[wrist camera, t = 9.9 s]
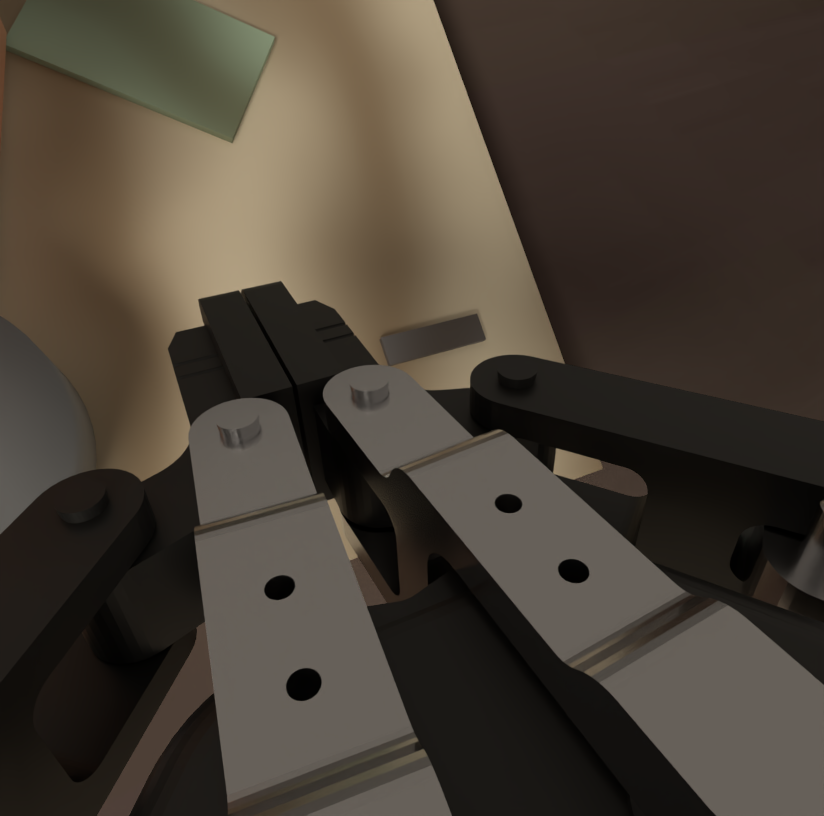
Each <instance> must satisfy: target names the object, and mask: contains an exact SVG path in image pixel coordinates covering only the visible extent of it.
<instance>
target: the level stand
mask: <svg viewBox="0 0 824 816" xmlns="http://www.w3.org/2000/svg"><path fill="white" fill-rule="evenodd" d="M0 18H1V21H2V23H3V25H4V28H5V30H6V32H7V37H6V56H5V75H4V94H3V112H2V131H1V150H0V316H1V317H3V318H4V319H6V320H8V321H9V322H10V323H12V324H13V325H14V326H16V327H17V328H18V329H19V330H21V331H22V332H23V333H24V334H26V335H27V336H28V337H29V338H30V339H31V341H32V342H33V343H34V344H35V345H36V346H37V347H38V348H39V349H40V350H41V351H42V352H43V353H44V354H45V355H46V356H47V357H48V358H49V359H50V360H51V361H52V362H53V364H54V365H55V366H56V367H57V368H58V369H59V370H60V371H61V372H62V373H63V374H64V375H65V376H66V377H67V378H68V380H69V381H70V382H71V384H72V385H73V386H74V388H75V389H76V391H77V392H78V393H79V395H80V397H81V399H82V401H83V403H84V405H85V407H86V409H87V411H88V414H89V417H90V420H91V423H92V426H93V431H94V436H95V441H96V457H97V461H96V469H109V468H110V469H120V470H124V471H127V472H130V473H132V474H134V475H135V476H137V477H138V478H139V479H140V481H141V482H142V481H144V480H145V479H147V478H149V477H151V476H153V475H155V474H157V473H159V472H160V471H162V470H164V469H165V468H167V467H168V466H170V465H171V464H172V463H174V462H175V461H176V460H177V459H178V458H179V457H180V456H181V455H182V454H183V452H184V451H185V450H186V448H187V447H188V445H189V440H188V433H189V430H190V423H189V420H188V416H187V413H186V410H185V406H184V403H183V399H182V396H181V393H180V389H179V386H178V382H177V379H176V375H175V372H174V369H173V365H172V362H171V358H170V355H169V352H168V347H169V345H170V343H171V341H172V339H173V337H174V335H175V333H176V332H178V331H183V330H187V329H192V328H196V327H200V326H204V323H203V319H202V316H201V312H200V307H199V302H198V299H200V298H205V297H210V296H214V295H219V294H223V293H228V292H233V291H237V290H239V291H240V293H241V290H242V289H246V288H251V287H255V286H260V285H264V284H269V283H274V282H278V281H281V282H282V283H283V284H284V286H285V287H286V288H287V290H288V291H289V293H290V294H291V296H292V297H293V298H294V300H295V301H296V303H297V304H300V303H304V302H308V301H313V300H316V301H318V302H321V303H323V304H325V305H327V306H329V307H332V308H334V309H335V310H336V311H337V312H338V314H339V315H340V316H341V317H342V319H343V320H344V321H345V324H346V325H348V326H349V328H350V329H351V330H352V331H353V333H354V336H355V335H356V336H357V338H358V339H359V340H360V341H361V343H362V344H363V345H364V346H365V348H366V349H367V350H368V352H369V353H370V354H371V355H372V357H373V358H374V359H375V360H376V362H377V363H378V364H379V365H385V366H390V367H395V368H397V369H400V370H402V371H404V372H406V373H407V374H409V375H410V376H411V377H412V378H413V379H414V380H415V381H416V382H417V383H418V384H419V385H420V386H421V387H422V388H423V389H424V390H447V389H460V388H470V376H471V372H472V371H473V369H474V368H475V367H476V366H477V365H478V364H480V363H481V362H483V361H485V360H487V359H489V358H493V357H496V356H501V355H526V356H532V357H536V358H541V359H545V360H550V361H554V362H559V363H563V364H565V363H564V360H563V357H562V354H561V352H560V349H559V346H558V343H557V341H556V338H555V335H554V332H553V330H552V327H551V324H550V321H549V318H548V316H547V313H546V310H545V307H544V305H543V302H542V299H541V296H540V294H539V291H538V288H537V285H536V283H535V280H534V277H533V274H532V271H531V269H530V266H529V263H528V260H527V258H526V255H525V252H524V249H523V247H522V244H521V241H520V238H519V236H518V233H517V230H516V227H515V225H514V222H513V219H512V216H511V213H510V211H509V208H508V205H507V202H506V200H505V197H504V194H503V191H502V189H501V186H500V183H499V180H498V178H497V175H496V172H495V169H494V166H493V164H492V161H491V158H490V155H489V153H488V150H487V147H486V144H485V142H484V139H483V136H482V133H481V131H480V128H479V125H478V122H477V120H476V117H475V114H474V111H473V108H472V106H471V103H470V100H469V97H468V95H467V92H466V89H465V86H464V84H463V81H462V78H461V75H460V73H459V70H458V67H457V64H456V61H455V59H454V56H453V53H452V50H451V48H450V45H449V42H448V39H447V37H446V34H445V31H444V28H443V26H442V23H441V20H440V17H439V14H438V12H437V9H436V6H435V3H434V1H433V0H0ZM601 469H603V468H602V465H601V462H600V460H597V459H594V458H590V457H586V456H583V455H579V454H575V453H572V452H568V451H565V450H561V449H557V448H556V454H555V463H554V471H553V474H556V475H559V476H563V477H566V478H569V479H576V478H579V477H582V476H584V475H587V474H590V473H593V472H596V471H598V470H601ZM327 502H328V504H329V507H330V510H331V512H332V515H333V518H334V520H335V523H336V526H337V528H338V531H339V534H340V536H341V539H342V542H343V544H344V547H345V550H346V553H347V555H348V558H349V560H352V559H354V558H357V557H358V556H357V555H356V553H355V551H354V550H353V548H352V547H351V545H350V543H349V542H348V540H347V539H346V537H345V535H344V533H343V529H342V523H341V516H340V510H339V506H338V504H337V502H336V500H335V499H331V500H328V501H327Z"/></svg>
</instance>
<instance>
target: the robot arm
mask: <svg viewBox="0 0 824 816" xmlns="http://www.w3.org/2000/svg"><path fill="white" fill-rule="evenodd" d="M198 302H199V307H200V312H201V316H202V319H203V323H204V326H200V327H196V328H192V329H187V330H183V331H178V332H176V333H175V335H174V337H173V339H172V341H171V343H170V345H169V347H168V352H169V355H170V358H171V362H172V365H173V369H174V372H175V375H176V379H177V382H178V386H179V389H180V393H181V396H182V399H183V403H184V406H185V410H186V413H187V416H188V420H189V423H190V430H189V433H188V440H189V445H188V447H187V448H186V450H185V451H184V452H183V454H182V455H181V456H180V457H179V458H178V459H177V460H176V461H175V462H174V463H172V464H171V465H170V466H168V467H167V468H165V469H164V470H162V471H160V472H159V473H157V474H155V475H153V476H151V477H149V478H147V479H145V480H144V481H142V482H141V481H140V479H139V478H138V477H137V476H135V475H134V474H132V473H130V472H127V471H124V470H120V469H110V468H109V469H96V470H90V471H86V472H82V473H79V474H76V475H73V476H70V477H68V478H66V479H64V480H62V481H60V482H58V483H56V484H55V485H53V486H51V487H50V488H48V489H47V490H46V491H44V492H43V493H42V494H41V495H39V496H38V497H37V498H36V499H35V500H34V501H33V502H32V503H31V504H30V505H29V506H28V507H27V508H26V509H25V510H24V511H23V512H22V513H21V514H20V515H19V516H18V517H17V518H16V519H15V520H14V521H13V522H12V523H11V524H10V525H9V526H8V527H7V528H6V529H5V530H4V531H3V532H2V533H1V534H0V816H97V814H98V813H99V811H100V809H101V807H102V806H103V804H104V802H105V800H106V799H107V797H108V795H109V793H110V792H111V790H112V788H113V786H114V785H115V783H116V781H117V779H118V778H119V776H120V774H121V773H122V771H123V769H124V767H125V766H126V764H127V762H128V760H129V759H130V757H131V755H132V753H133V752H134V750H135V748H136V746H137V745H138V743H139V741H140V739H141V738H142V736H143V734H144V732H145V731H146V729H147V727H148V726H149V724H150V722H151V720H152V719H153V717H154V715H155V713H156V712H157V710H158V708H159V706H160V705H161V703H162V701H163V699H164V698H165V696H166V694H167V692H168V691H169V689H170V687H171V686H172V684H173V682H174V680H175V679H176V677H177V675H178V673H179V672H180V670H181V668H182V666H183V665H184V663H185V661H186V659H187V658H188V656H189V654H190V652H191V650H192V648H193V646H194V644H195V640H196V634H197V629H196V627H198V626H199V625H200V624H202V623H203V622H205V624H206V632H207V640H208V648H209V656H210V664H211V672H212V680H213V688H214V694H212V695H211V696H210V697H209V698H208V699H207V700H206V701H205V702H204V703H203V704H202V705H201V706H200V707H199V708H198V709H197V710H196V711H195V712H194V713H193V714H192V715H191V716H190V717H189V718H188V719H187V721H186V722H185V723H184V724H183V726H182V727H181V728H180V729H179V731H178V732H177V733H176V734H175V735H174V737H173V738H172V740H171V741H170V743H169V744H168V746H167V747H166V749H165V750H164V752H163V753H162V755H161V756H160V758H159V759H158V761H157V763H156V764H155V766H154V768H153V770H152V772H151V774H150V775H149V777H148V779H147V781H146V783H145V785H144V787H143V789H142V791H141V793H140V795H139V797H138V799H137V801H136V803H135V805H134V807H133V809H132V811H131V813H130V815H129V816H824V421H819V420H815V419H810V418H806V417H801V416H797V415H792V414H788V413H783V412H779V411H774V410H770V409H765V408H761V407H756V406H752V405H748V404H743V403H739V402H734V401H730V400H725V399H721V398H716V397H712V396H707V395H703V394H698V393H694V392H689V391H685V390H680V389H676V388H671V387H667V386H662V385H658V384H653V383H649V382H644V381H640V380H635V379H631V378H626V377H622V376H617V375H613V374H608V373H604V372H599V371H595V370H590V369H586V368H581V367H577V366H572V365H568V364H563V363H559V362H554V361H550V360H545V359H541V358H536V357H532V356H526V355H501V356H496V357H493V358H489V359H487V360H485V361H483V362H481V363H480V364H478V365H477V366H476V367H475V368H474V369H473V371H472V372H471V376H470V388H460V389H447V390H424V389H423V388H422V387H421V386H420V385H419V384H418V383H417V382H416V381H415V380H414V379H413V378H412V377H411V376H410V375H409V374H407V373H406V372H404V371H402V370H400V369H397V368H395V367H390V366H385V365H379V364H378V363H377V362H376V360H375V359H374V358H373V357H372V355H371V354H370V353H369V352H368V350H367V349H366V348H365V346H364V345H363V344H362V343H361V341H360V340H359V339H358V338H357V336H356V335H355V336H354V333H353V331H352V330H351V329H350V328H349V326H348V325H346V324H345V321H344V320H343V319H342V317H341V316H340V315H339V314H338V312H337V311H336V310H335V309H334V308H332V307H329V306H327V305H325V304H323V303H321V302H318V301H316V300H313V301H308V302H304V303H300V304H297V303H296V301H295V300H294V298H293V297H292V296H291V294H290V293H289V291H288V290H287V288H286V287H285V286H284V284H283V283H282V282H281V281H278V282H274V283H269V284H264V285H260V286H255V287H251V288H246V289H242V290H241V293H240V291H239V290H237V291H233V292H228V293H223V294H219V295H214V296H210V297H205V298H200V299H198ZM556 448H557V449H561V450H565V451H568V452H572V453H575V454H579V455H583V456H586V457H590V458H594V459H597V460H601V461H604V462H608V463H612V464H615V465H619V466H623V467H626V468H629V469H631V470H633V471H635V472H636V473H638V474H639V475H640V476H641V477H642V478H643V480H644V481H645V483H646V485H647V488H648V494H647V495H645V496H641V497H632V496H627V495H624V494H621V493H617V492H614V491H610V490H607V489H604V488H600V487H597V486H593V485H590V484H586V483H583V482H580V481H576V480H573V479H569V478H566V477H563V476H559V475H556V474H553V471H554V463H555V454H556ZM331 499H335V500H336V502H337V504H338V506H339V510H340V516H341V523H342V529H343V533H344V535H345V537H346V539H347V540H348V542H349V543H350V545H351V547H352V548H353V550H354V551H355V553H356V555H357V556H358V558H359V559H360V561H361V562H362V564H363V566H364V567H365V569H366V570H367V572H368V574H369V575H370V577H371V578H372V580H373V582H374V583H375V585H376V586H377V588H378V589H379V591H380V593H381V594H382V596H383V597H384V599H385V601H386V602H387V603H386V604H380V605H373V606H366V603H365V601H364V598H363V595H362V593H361V590H360V587H359V585H358V582H357V579H356V577H355V574H354V571H353V569H352V566H351V563H350V561H349V558H348V555H347V553H346V550H345V547H344V544H343V542H342V539H341V536H340V534H339V531H338V528H337V526H336V523H335V520H334V518H333V515H332V512H331V510H330V507H329V504H328V502H327V501H328V500H331Z"/></svg>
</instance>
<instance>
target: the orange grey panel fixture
mask: <svg viewBox="0 0 824 816" xmlns="http://www.w3.org/2000/svg"><path fill="white" fill-rule="evenodd" d="M6 37H7V32H6V30H5V28H4V25H3V23H2V21H1V18H0V150H1V131H2V112H3V94H4V75H5V56H6ZM96 461H97V457H96V441H95V436H94V431H93V426H92V423H91V420H90V417H89V414H88V411H87V409H86V407H85V405H84V403H83V401H82V399H81V397H80V395H79V393H78V392H77V391H76V389H75V388H74V386H73V385H72V384H71V382H70V381H69V380H68V378H67V377H66V376H65V375H64V374H63V373H62V372H61V371H60V370H59V369H58V368H57V367H56V366H55V365H54V364H53V362H52V361H51V360H50V359H49V358H48V357H47V356H46V355H45V354H44V353H43V352H42V351H41V350H40V349H39V348H38V347H37V346H36V345H35V344H34V343H33V342H32V341H31V339H30V338H29V337H28V336H27V335H26V334H24V333H23V332H22V331H21V330H19V329H18V328H17V327H16V326H14V325H13V324H12V323H10V322H9V321H8V320H6V319H4V318H3V317H1V316H0V534H1V533H2V532H3V531H4V530H5V529H6V528H7V527H8V526H9V525H10V524H11V523H12V522H13V521H14V520H15V519H16V518H17V517H18V516H19V515H20V514H21V513H22V512H23V511H24V510H25V509H26V508H27V507H28V506H29V505H30V504H31V503H32V502H33V501H34V500H35V499H36V498H37V497H38V496H39V495H41V494H42V493H43V492H44V491H46V490H47V489H48V488H50V487H51V486H53V485H55V484H56V483H58V482H60V481H62V480H64V479H66V478H68V477H70V476H73V475H76V474H79V473H82V472H86V471H90V470H96Z"/></svg>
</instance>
